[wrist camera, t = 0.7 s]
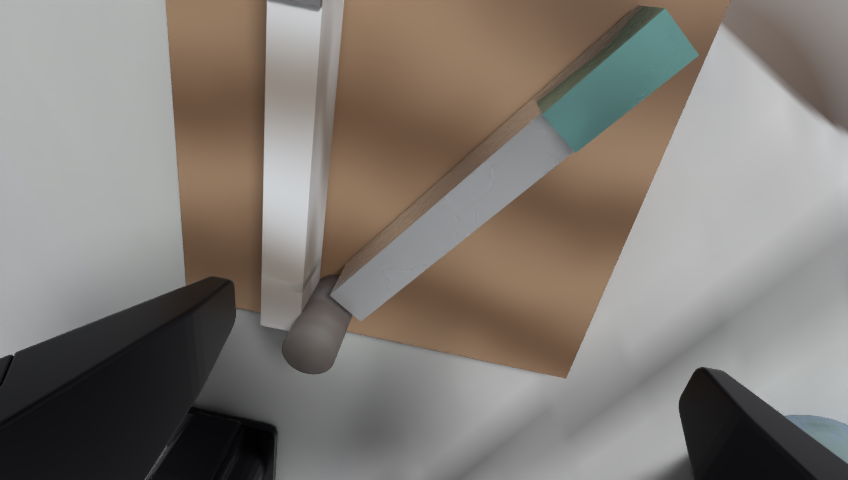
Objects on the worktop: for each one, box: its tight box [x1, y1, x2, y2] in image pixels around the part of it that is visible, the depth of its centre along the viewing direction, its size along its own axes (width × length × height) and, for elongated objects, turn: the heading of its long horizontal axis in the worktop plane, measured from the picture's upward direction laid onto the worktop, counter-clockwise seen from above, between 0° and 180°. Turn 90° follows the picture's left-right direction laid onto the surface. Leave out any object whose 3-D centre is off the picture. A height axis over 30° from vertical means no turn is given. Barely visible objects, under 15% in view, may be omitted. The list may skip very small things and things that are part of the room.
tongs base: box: [166, 0, 731, 378], centre depth 17 cm, size 18×18×5 cm
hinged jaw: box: [330, 5, 699, 321], centre depth 17 cm, size 14×2×3 cm, turn 135°
